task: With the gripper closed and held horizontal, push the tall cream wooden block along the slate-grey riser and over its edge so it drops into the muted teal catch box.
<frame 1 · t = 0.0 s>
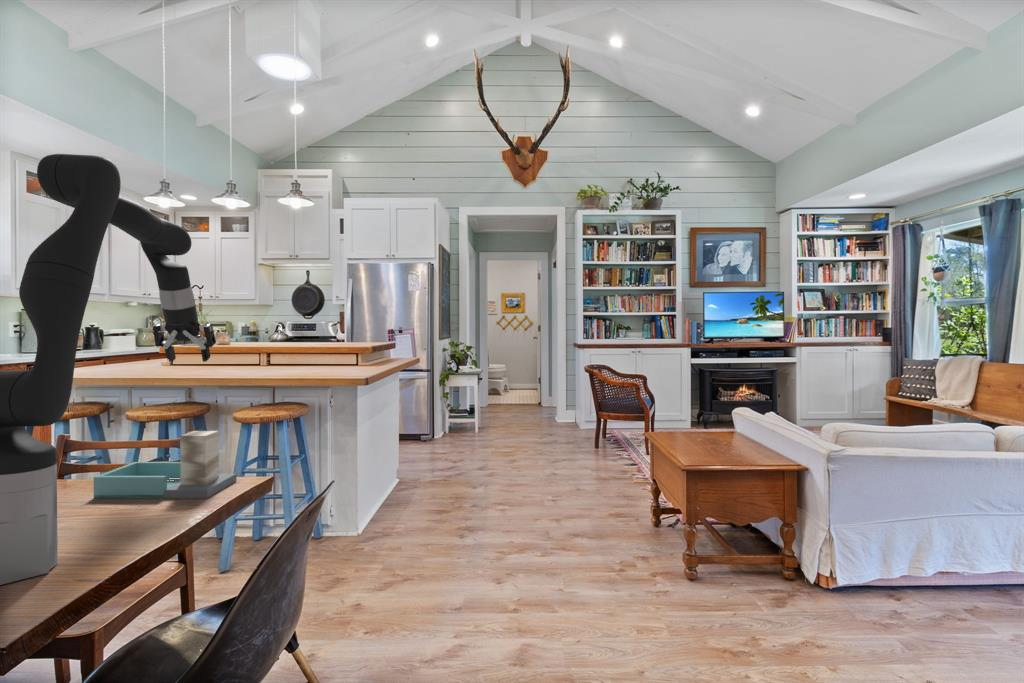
hand: (189, 360, 141), 31 cm above the table, tool tilted 20°, fingers open, 8 cm apart
riser: (202, 489, 129), on the table
catch box: (148, 489, 128), on the table
block: (200, 481, 129), point 2 cm above the table, touching riser
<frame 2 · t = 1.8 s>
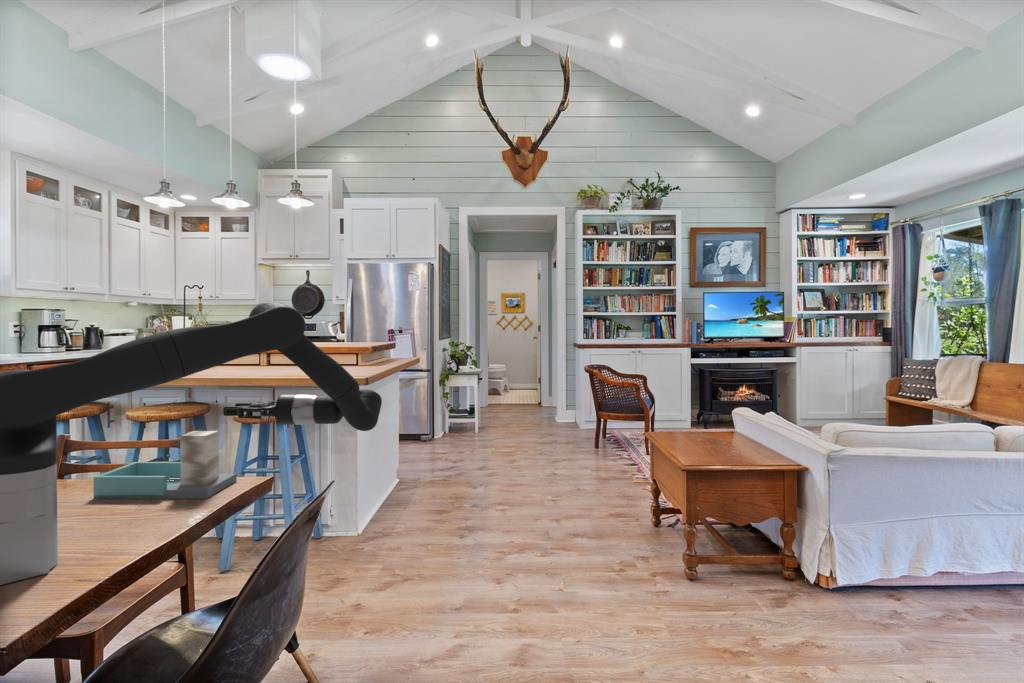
hand: (230, 409, 129), 20 cm above the table, tool horizontal, fingers open, 5 cm apart
nothing on the table moved.
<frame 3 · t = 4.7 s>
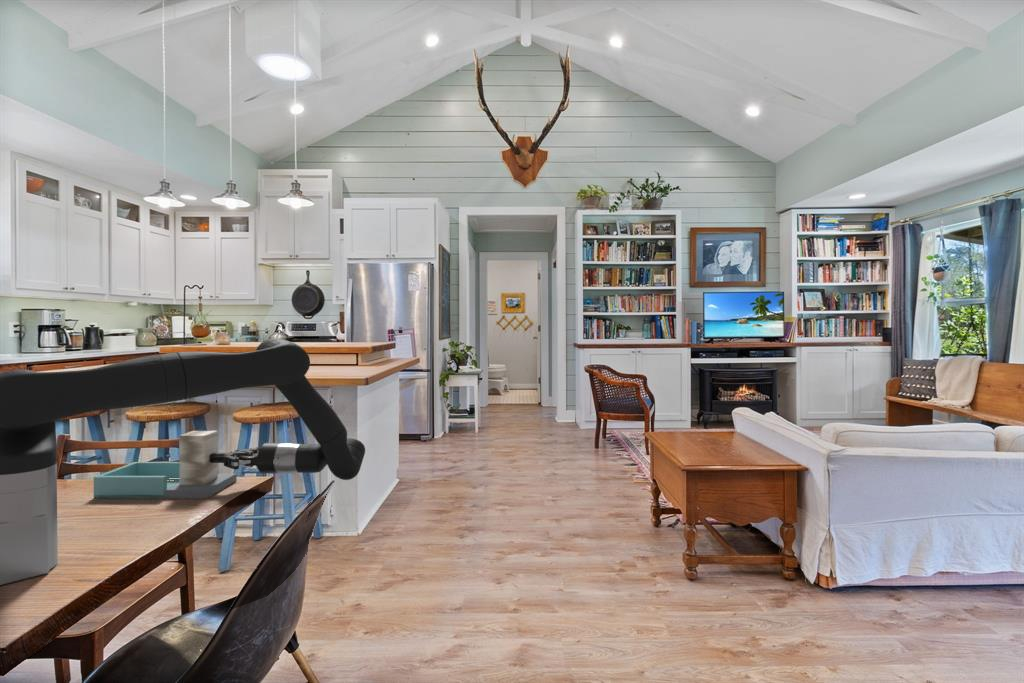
hand: (211, 457, 129), 8 cm above the table, tool horizontal, fingers closed
block: (199, 481, 129), point 2 cm above the table, touching gripper
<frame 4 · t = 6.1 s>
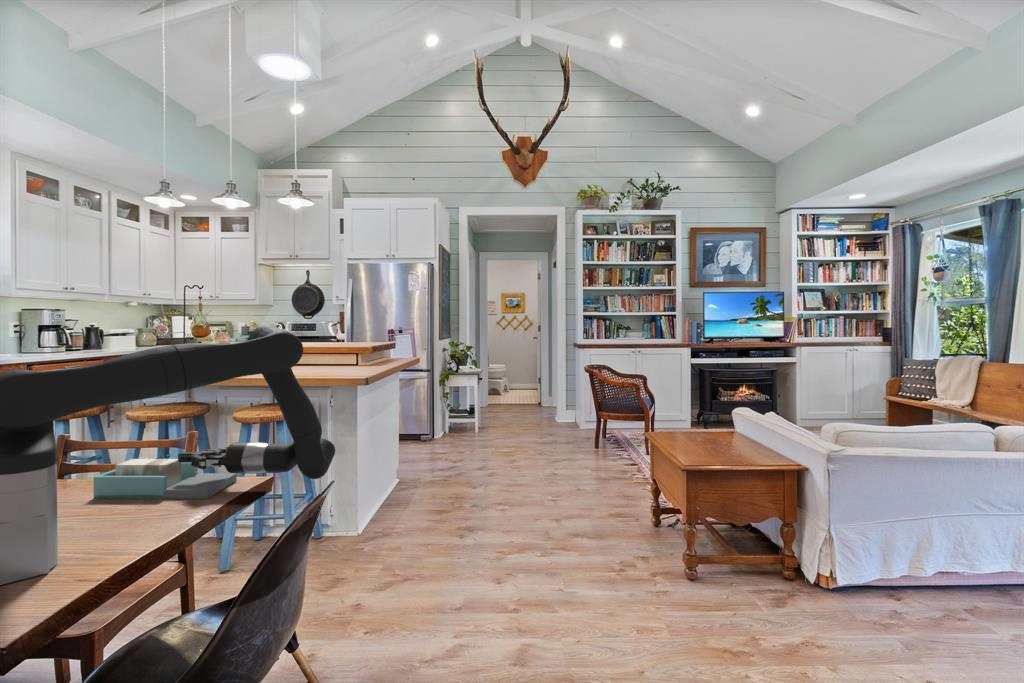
hand: (179, 457, 128), 8 cm above the table, tool horizontal, fingers closed
block: (173, 473, 128), point 4 cm above the table, tilted 90°, touching catch box
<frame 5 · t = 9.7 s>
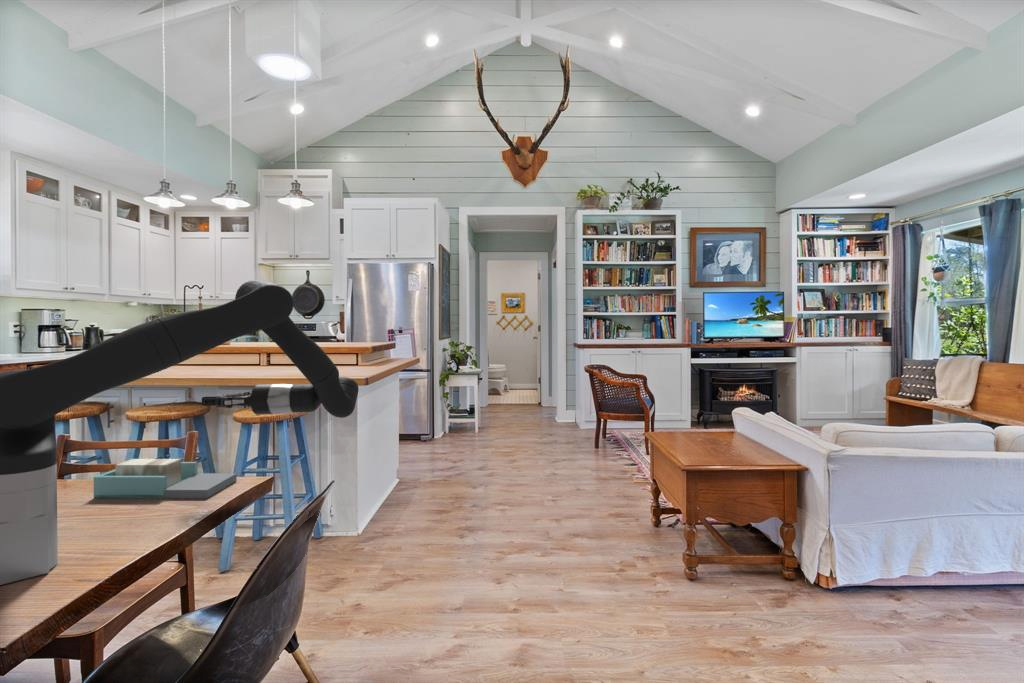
hand: (203, 401, 128), 22 cm above the table, tool horizontal, fingers closed
nothing on the table moved.
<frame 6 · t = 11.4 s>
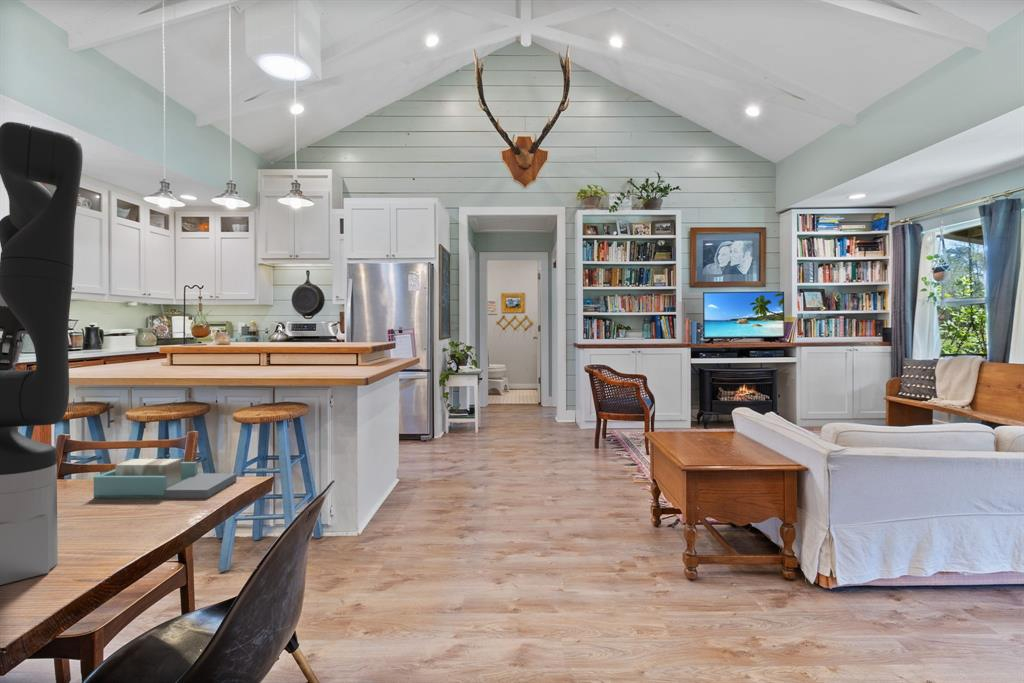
nothing on the table moved.
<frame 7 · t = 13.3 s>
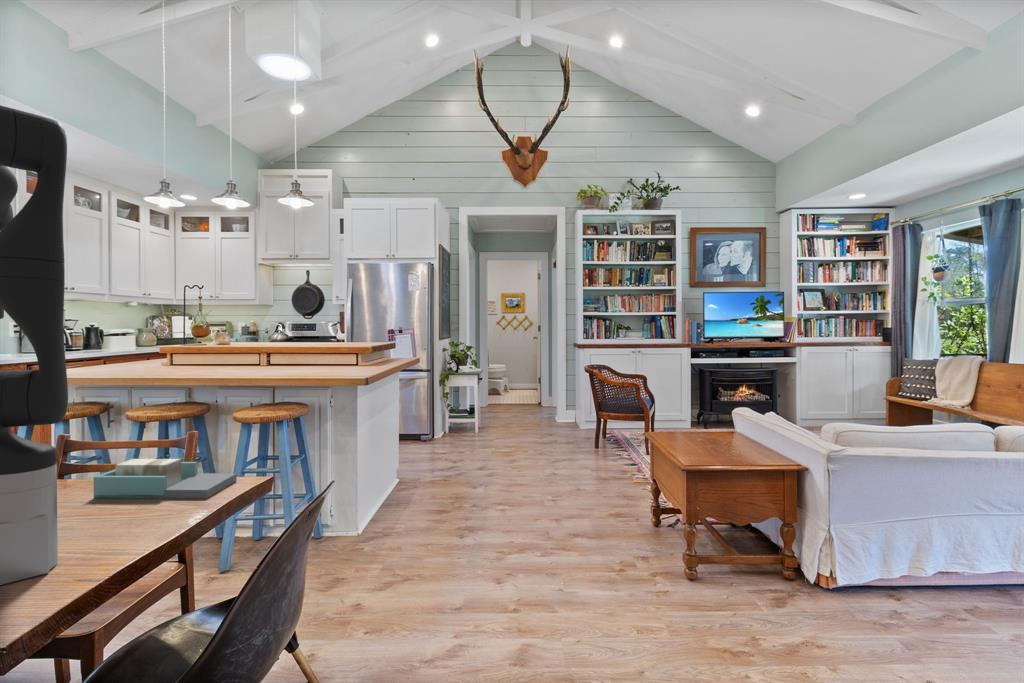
nothing on the table moved.
at the end: block 6.1 cm from the catch box (horizontally); block touching catch box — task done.
